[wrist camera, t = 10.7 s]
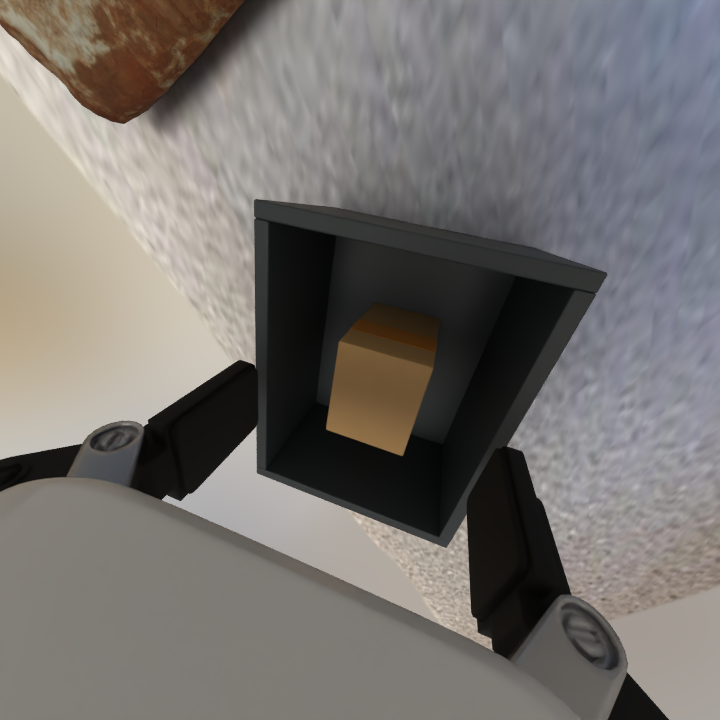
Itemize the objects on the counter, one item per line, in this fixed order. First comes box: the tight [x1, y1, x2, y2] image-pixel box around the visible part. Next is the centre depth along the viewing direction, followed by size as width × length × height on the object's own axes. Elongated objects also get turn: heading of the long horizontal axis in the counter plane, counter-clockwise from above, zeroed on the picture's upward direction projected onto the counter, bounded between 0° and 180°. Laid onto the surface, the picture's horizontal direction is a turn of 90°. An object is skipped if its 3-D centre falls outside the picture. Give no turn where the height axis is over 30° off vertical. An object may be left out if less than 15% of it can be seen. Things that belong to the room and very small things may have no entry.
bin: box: [254, 199, 607, 548], centre depth 16 cm, size 14×11×8 cm
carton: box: [326, 302, 439, 456], centre depth 15 cm, size 5×4×6 cm
